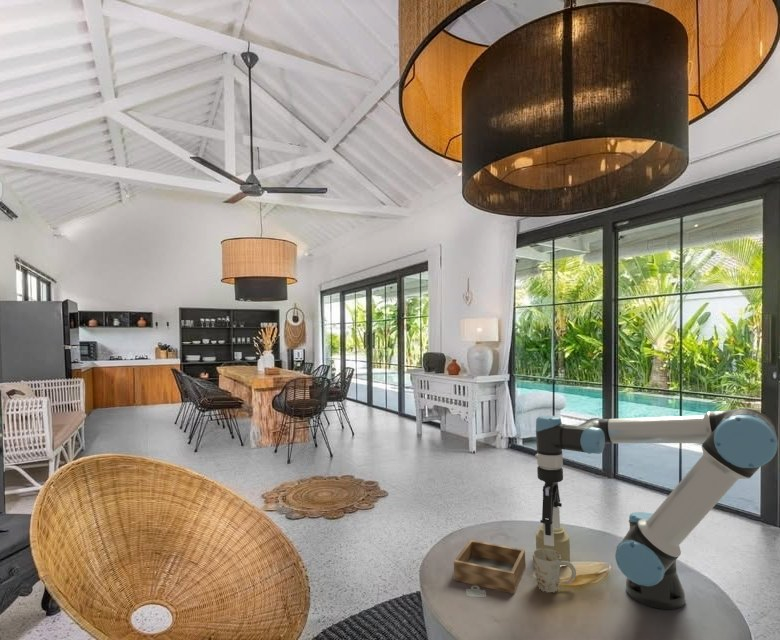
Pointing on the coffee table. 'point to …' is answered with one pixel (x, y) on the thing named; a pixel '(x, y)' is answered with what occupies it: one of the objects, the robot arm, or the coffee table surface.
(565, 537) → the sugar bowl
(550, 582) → the mug
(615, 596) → the coffee table surface
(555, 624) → the coffee table surface
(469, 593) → the mounting bracket
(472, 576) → the open wooden crate
